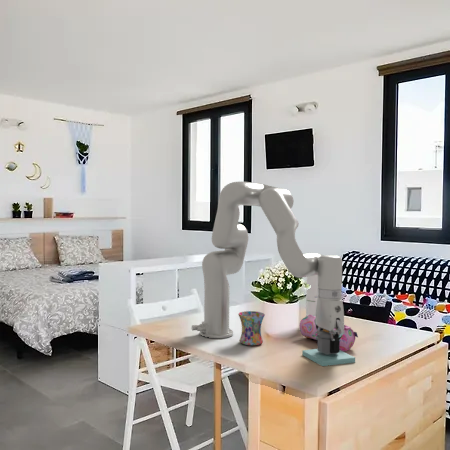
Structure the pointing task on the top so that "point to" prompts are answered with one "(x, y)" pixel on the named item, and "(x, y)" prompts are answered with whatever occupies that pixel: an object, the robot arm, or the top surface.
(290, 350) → the top surface
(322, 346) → the knob
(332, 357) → the teal peg base
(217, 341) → the top surface
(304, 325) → the pencil case
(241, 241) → the robot arm
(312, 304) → the cylindrical container
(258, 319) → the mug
